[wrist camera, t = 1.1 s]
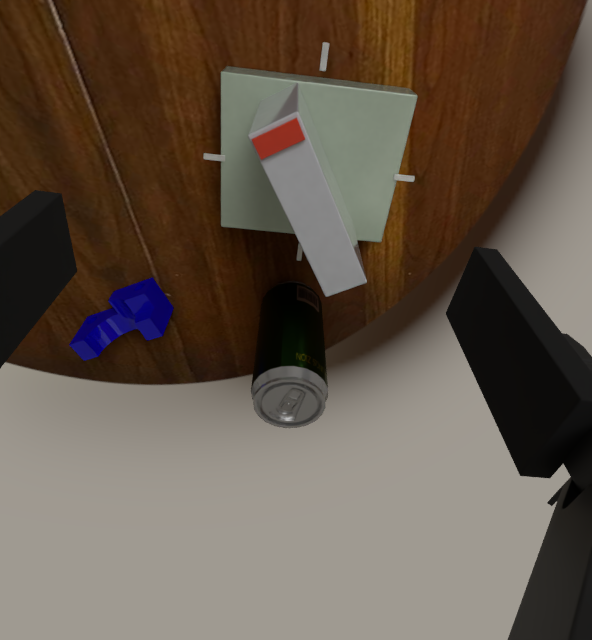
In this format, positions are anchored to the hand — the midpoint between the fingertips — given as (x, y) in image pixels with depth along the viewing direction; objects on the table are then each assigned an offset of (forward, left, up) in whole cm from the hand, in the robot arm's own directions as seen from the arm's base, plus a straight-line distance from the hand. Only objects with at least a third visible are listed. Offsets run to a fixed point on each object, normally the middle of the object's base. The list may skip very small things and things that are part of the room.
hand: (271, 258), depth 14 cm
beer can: (-2, +15, -19) cm, 25 cm away
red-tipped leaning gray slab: (-2, +2, -17) cm, 17 cm away
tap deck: (-2, +2, -19) cm, 19 cm away
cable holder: (+13, +17, -19) cm, 29 cm away
